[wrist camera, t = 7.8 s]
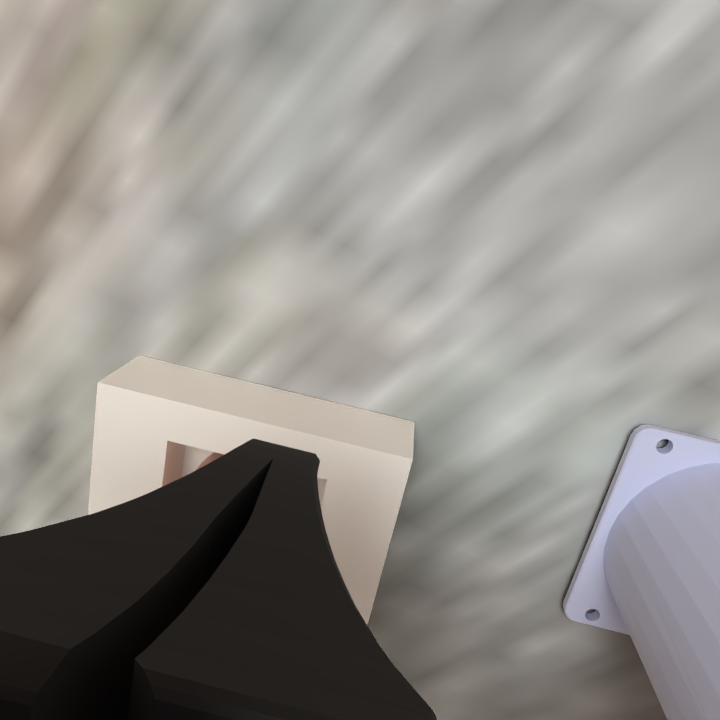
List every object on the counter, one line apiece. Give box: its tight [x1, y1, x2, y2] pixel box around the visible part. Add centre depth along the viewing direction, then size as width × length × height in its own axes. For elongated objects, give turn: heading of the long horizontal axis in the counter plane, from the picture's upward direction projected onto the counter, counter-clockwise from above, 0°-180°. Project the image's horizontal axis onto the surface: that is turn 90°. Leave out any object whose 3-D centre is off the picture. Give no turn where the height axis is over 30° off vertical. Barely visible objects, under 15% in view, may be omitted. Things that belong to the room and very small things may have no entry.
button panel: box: [88, 355, 415, 625], centre depth 23 cm, size 10×24×3 cm, turn 168°
